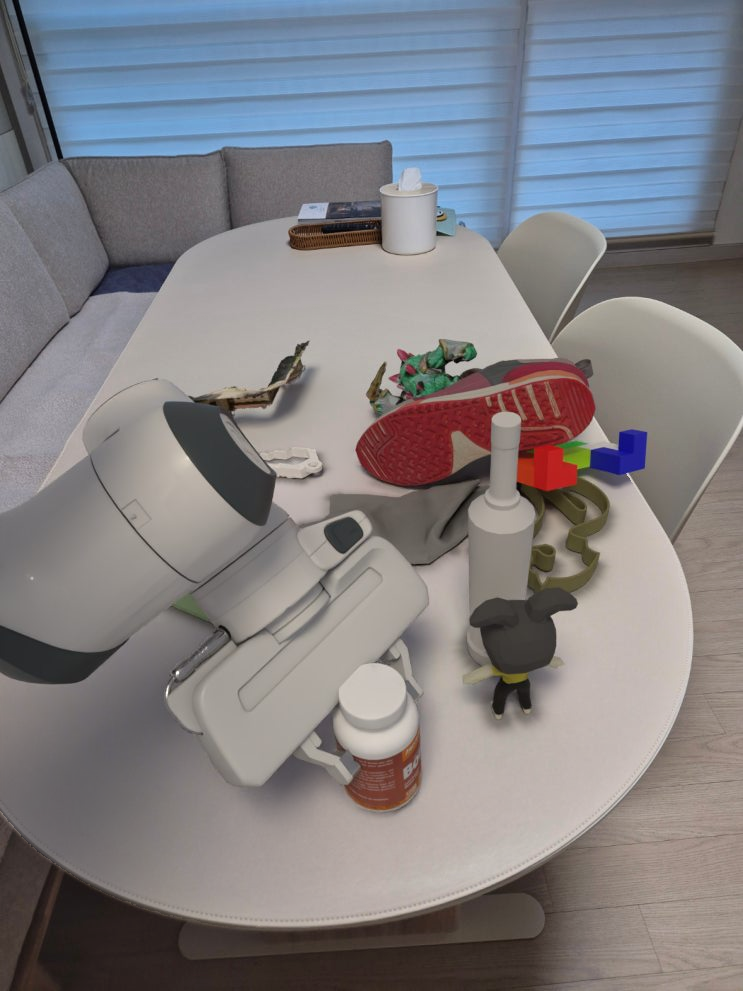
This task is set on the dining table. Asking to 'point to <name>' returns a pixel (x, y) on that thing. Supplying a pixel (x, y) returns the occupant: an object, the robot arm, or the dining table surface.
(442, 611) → the dining table surface
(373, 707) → the pill bottle
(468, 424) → the sneaker
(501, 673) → the toy
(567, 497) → the cookie cutter
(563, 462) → the building blocks
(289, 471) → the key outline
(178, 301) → the dining table surface
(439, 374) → the figurine
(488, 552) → the bottle
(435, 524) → the cloth
